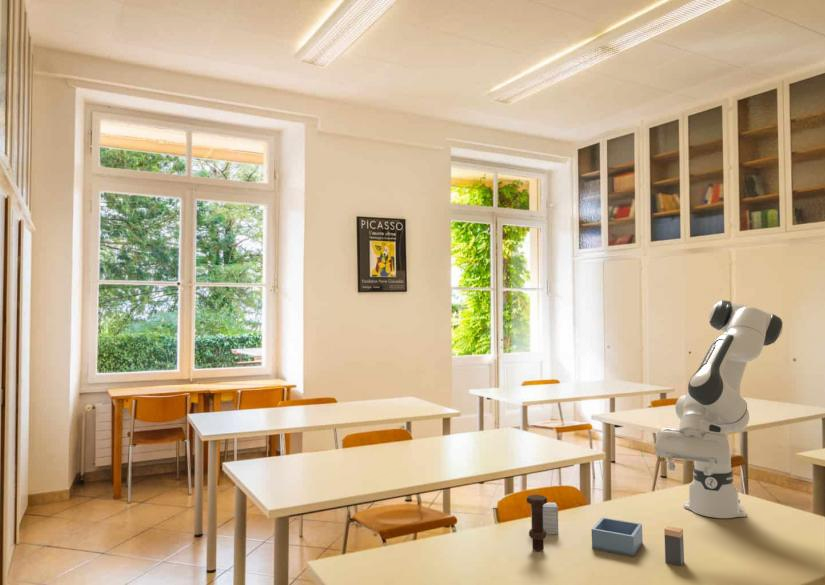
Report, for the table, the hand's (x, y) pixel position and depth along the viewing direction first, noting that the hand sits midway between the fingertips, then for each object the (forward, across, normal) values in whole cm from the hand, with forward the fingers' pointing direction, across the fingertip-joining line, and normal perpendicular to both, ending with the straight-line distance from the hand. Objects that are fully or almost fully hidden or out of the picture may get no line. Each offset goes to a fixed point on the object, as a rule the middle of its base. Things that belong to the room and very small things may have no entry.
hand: (688, 471), depth 169 cm
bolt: (+33, -36, -1) cm, 49 cm away
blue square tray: (+22, -18, +10) cm, 30 cm away
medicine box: (+24, -40, +8) cm, 47 cm away
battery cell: (+24, -2, +8) cm, 25 cm away
